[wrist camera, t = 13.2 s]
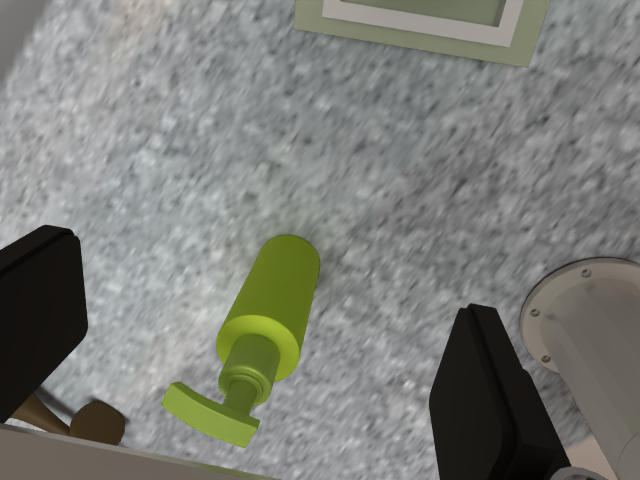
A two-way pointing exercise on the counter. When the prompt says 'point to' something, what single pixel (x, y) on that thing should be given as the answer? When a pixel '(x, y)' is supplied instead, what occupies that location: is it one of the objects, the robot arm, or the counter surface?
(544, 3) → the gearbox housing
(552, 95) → the counter surface
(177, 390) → the soap dispenser
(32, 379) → the robot arm
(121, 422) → the kendama
